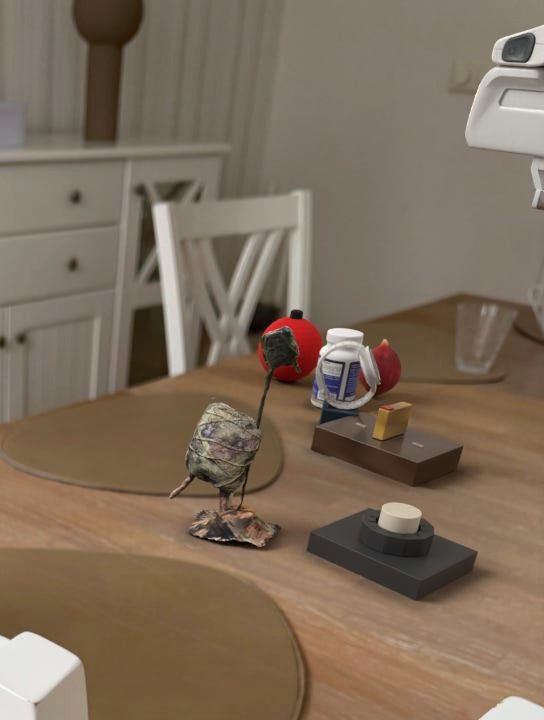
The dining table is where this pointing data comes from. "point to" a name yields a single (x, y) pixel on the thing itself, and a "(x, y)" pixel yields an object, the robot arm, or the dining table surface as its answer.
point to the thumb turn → (392, 420)
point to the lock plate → (387, 450)
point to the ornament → (306, 342)
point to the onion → (384, 369)
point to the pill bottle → (339, 367)
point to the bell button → (400, 518)
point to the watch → (345, 408)
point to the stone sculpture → (234, 454)
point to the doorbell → (392, 554)
